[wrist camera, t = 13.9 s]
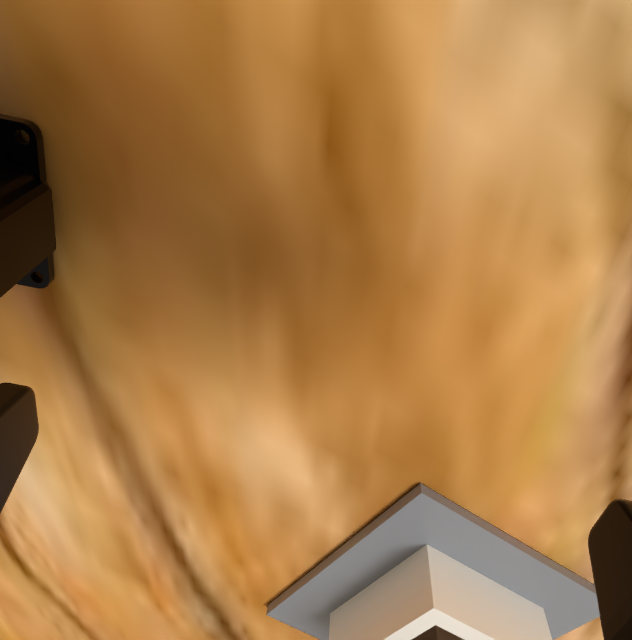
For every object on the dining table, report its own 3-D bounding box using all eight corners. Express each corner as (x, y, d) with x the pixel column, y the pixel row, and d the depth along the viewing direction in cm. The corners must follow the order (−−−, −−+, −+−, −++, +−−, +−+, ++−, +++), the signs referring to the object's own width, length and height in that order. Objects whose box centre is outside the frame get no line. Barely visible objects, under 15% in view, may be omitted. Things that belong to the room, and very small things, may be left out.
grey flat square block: (267, 605, 33) (256, 675, 30) (420, 483, 27) (428, 555, 24) (441, 686, 37) (449, 757, 34) (613, 596, 30) (644, 673, 27)
